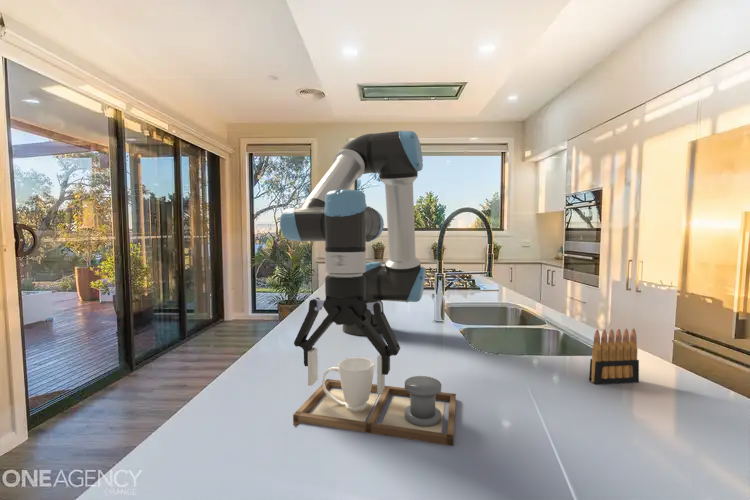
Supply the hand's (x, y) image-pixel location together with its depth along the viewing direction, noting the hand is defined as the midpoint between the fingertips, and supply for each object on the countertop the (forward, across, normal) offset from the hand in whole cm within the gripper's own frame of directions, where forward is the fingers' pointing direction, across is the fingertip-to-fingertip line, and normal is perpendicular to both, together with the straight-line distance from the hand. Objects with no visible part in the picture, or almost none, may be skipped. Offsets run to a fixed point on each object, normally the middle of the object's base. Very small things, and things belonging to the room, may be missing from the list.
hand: (346, 386), depth 64 cm
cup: (+4, 0, 0) cm, 4 cm away
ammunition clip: (+4, +54, +26) cm, 60 cm away
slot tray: (+4, +6, 0) cm, 8 cm away
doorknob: (+3, +14, 0) cm, 15 cm away
